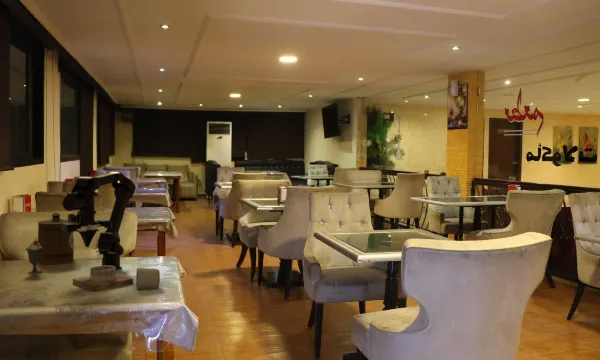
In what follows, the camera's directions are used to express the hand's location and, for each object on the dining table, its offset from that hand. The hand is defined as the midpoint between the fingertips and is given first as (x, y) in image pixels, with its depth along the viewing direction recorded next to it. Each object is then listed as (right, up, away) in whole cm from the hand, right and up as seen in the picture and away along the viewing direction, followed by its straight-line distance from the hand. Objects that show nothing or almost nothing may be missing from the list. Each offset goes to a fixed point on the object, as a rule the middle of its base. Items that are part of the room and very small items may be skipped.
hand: (87, 247), depth 209 cm
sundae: (-23, -11, +5) cm, 27 cm away
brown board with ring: (+10, -13, -10) cm, 19 cm away
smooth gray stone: (+10, -11, -10) cm, 18 cm away
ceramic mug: (+28, -14, -14) cm, 34 cm away
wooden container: (-26, -10, +28) cm, 39 cm away
